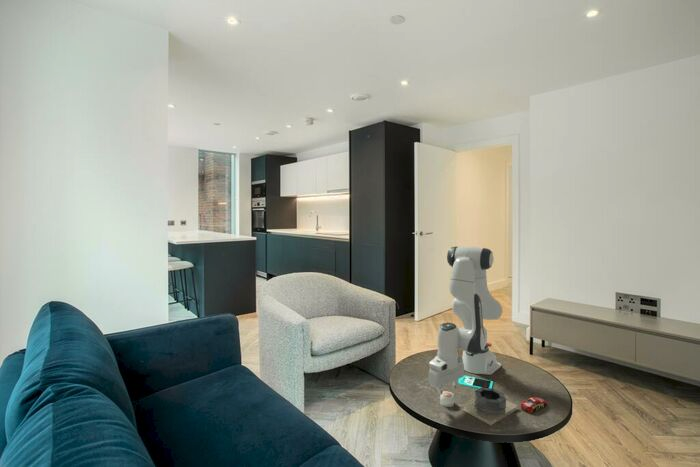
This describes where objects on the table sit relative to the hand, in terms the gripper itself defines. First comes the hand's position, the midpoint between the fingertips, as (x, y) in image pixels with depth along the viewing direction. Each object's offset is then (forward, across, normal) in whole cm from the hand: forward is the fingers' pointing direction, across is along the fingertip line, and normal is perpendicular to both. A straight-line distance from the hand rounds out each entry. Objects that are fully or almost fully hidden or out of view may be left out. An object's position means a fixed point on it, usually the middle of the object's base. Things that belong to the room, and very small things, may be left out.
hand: (447, 391), depth 157 cm
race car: (+6, -29, +24) cm, 38 cm away
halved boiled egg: (+6, -1, 0) cm, 6 cm away
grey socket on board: (+6, -12, +14) cm, 19 cm away
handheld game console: (+6, -27, -4) cm, 28 cm away
